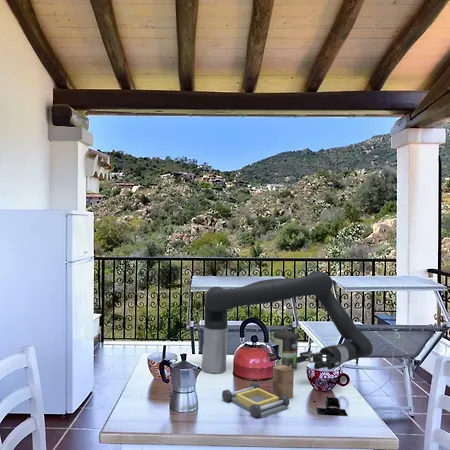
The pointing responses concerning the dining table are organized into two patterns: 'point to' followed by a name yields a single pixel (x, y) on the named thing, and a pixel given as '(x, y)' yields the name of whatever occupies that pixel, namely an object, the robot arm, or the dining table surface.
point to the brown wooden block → (283, 381)
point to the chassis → (257, 400)
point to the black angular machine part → (331, 411)
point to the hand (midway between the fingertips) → (305, 363)
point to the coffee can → (287, 348)
